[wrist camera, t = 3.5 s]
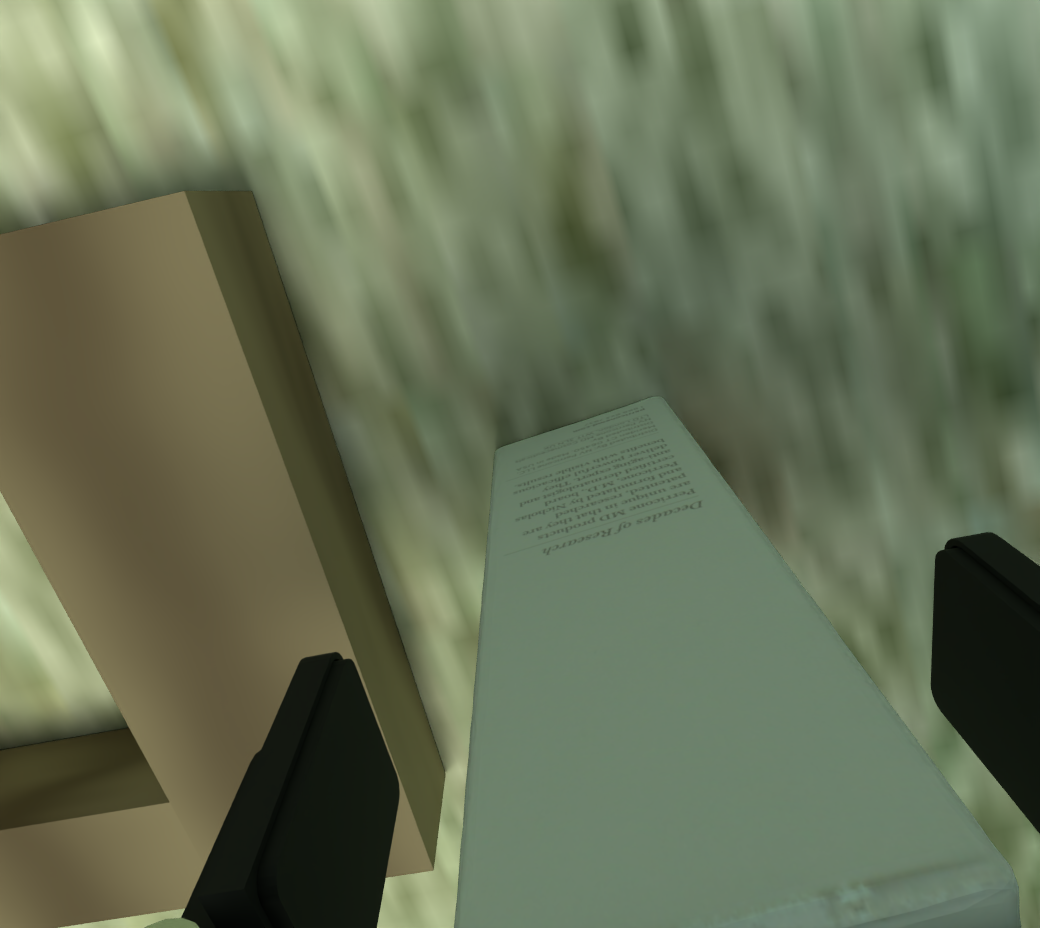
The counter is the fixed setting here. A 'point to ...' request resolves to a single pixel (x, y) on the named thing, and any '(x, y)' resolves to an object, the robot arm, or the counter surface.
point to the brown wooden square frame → (177, 548)
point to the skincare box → (685, 718)
